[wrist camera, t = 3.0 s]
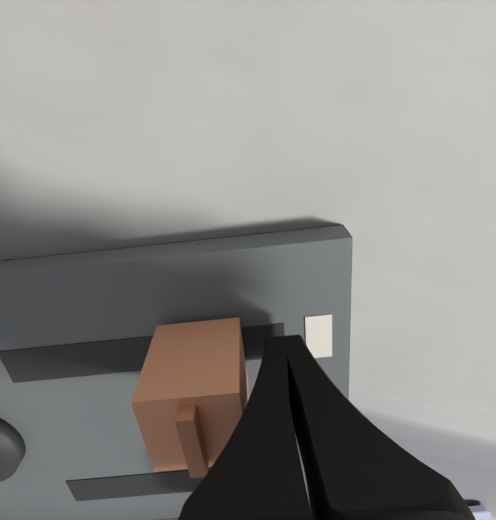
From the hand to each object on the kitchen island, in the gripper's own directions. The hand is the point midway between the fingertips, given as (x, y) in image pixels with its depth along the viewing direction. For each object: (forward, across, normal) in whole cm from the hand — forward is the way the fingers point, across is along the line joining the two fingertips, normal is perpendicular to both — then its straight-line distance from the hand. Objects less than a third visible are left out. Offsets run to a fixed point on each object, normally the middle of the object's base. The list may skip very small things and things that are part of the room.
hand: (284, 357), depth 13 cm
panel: (+2, +7, +4) cm, 8 cm away
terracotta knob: (+1, +3, 0) cm, 3 cm away
